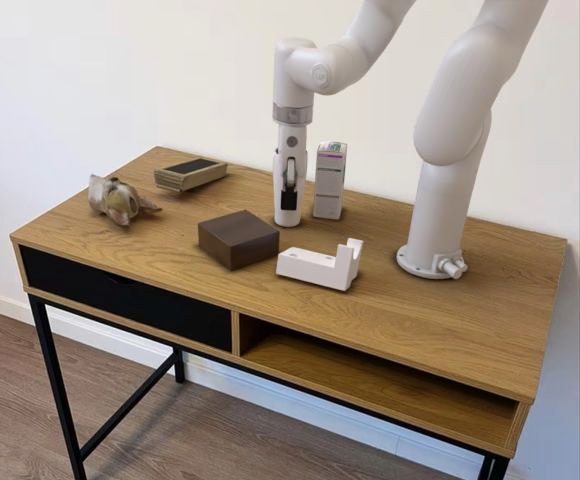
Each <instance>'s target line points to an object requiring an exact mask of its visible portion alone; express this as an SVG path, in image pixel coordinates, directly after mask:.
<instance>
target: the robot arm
mask: <svg viewBox="0 0 580 480" xmlns="http://www.w3.org/2000/svg"><path fill="white" fill-rule="evenodd" d="M549 1H550V0H484V1H483V3H482V5H481V8H480V9H479V12H478V14H477V16H476V18H475V20H474V22H473V23H472V25H471V26H470V28H468V30H466V31H465V32H463V33H462V34H460V35H459V36H458V37H457V38H456V39H455V40H454V41H453V42H452V43H451V44H450V46H449V47H448V48H447V50H446V52H445V54H444V55H443V57H442V58H441V59H442V60H441V61H440V64H439V66H438V68H437V70H436V73H435V74H434V76H433V80H432V82H431V84H430V87H429V89H428V92H427V94H426V95H425V98H424V101H423V103H422V104H421V108H420V110H419V113H418V115H417V117H416V120H415V122H414V127H413V133H412V135H413V136H412V139H413V146H414V148H415V151H416V153H417V155H418V156H419V158H420V159H422V162H421V167H420V173H419V178H418V182H417V188H416V193H415V199H414V204H413V210H412V211H413V212H412V216H411V220H410V226H409V231H408V232H409V233H408V238H407V243H406V244H404V245H402V246H401V247H399V249H398V250H397V253H396V262H397V264H398V266H400V267H401V268H402V269H403V270H404V271H406V272H407V273H409V274H412V275H415V276H417V277H419V278H420V277H421V278H424V279H429V280H431V279H432V280H445V279H450V278H452V279H454V280H458V279H459V278H461V276H462V274H463V273H465V272H467V270H468V268H469V267H468V265H467V264H466V263H465V259H464V258H463V256H462V254H463V250H462V249H461V248H460V246H461V241H462V237H463V233H464V229H465V226H466V225H465V224H466V221H467V216H468V212H469V209H470V204H471V200H472V196H473V191H474V189H475V188H474V187H475V184H476V180H477V176H478V173H479V172H478V171H479V168H480V164H481V161H482V158H483V154H484V151H485V148H486V146H487V145H486V144H487V141H488V138H489V134H490V131H491V126H492V119H493V118H492V113H493V112H492V107H493V105H494V103H495V101H496V99H497V97H498V95H499V93H500V91H502V88H503V87H504V85H505V84H506V83H508V81H510V79H511V78H512V76H513V75H514V74H515V73H516V71H517V69H518V67H519V65H520V62H521V59H522V58H523V55H524V53H525V51H526V49H527V46H528V45H529V43H530V40H531V38H532V36H533V34H534V32H535V30H536V28H537V26H538V24H539V22H540V20H541V18H542V16H543V13H544V11H545V9H546V7H547V5H548V3H549ZM416 2H417V0H363V1H362V4H361V7H360V9H359V11H358V12H357V15H356V16H355V18H354V20H353V21H352V23H351V24H350V25H349V27H348V28H347V30H346V31H345V33H344V34H343V36H342V37H341V38H340V39H339V40H337V41H335V42H333V43H331V44H328V45H326V46H322V47H318V48H317V44H316V43H315V42H314V41H312V40H311V39H308V38H305V37H303V38H302V37H295V36H292V37H284V38H280V39H279V40H278V41H276V43H275V46H274V54H273V55H274V56H273V58H274V60H273V86H272V87H273V90H272V117H271V118H272V119H271V120H272V121H273V122H274V123H275V124H278V127H277V128H278V133H277V147H278V155H279V170H280V176H281V177H283V190H281V210H292V211H295V210H296V209H297V194H298V191H297V174H298V176H299V177H301V178H303V177H304V176H305V159H306V150H307V137H308V136H307V132H308V131H307V130H308V128H307V127H308V125H311V124H312V123H313V116H314V102H315V94H318V95H321V96H326V97H327V96H333V95H336V94H338V93H340V92H342V91H344V90H345V89H347V88H348V87H350V86H352V85H354V84H356V83H357V82H359V81H361V80H362V79H363V78H364V77H365V76H366V75H367V74H368V72H369V71H370V70H371V68H372V67H374V65H375V63H376V62H377V61H378V60H379V58H380V57H381V56H382V54H383V53H384V52H385V51H386V49H387V47H388V46H389V44H390V43H391V41H392V40H393V38H394V37H395V34H396V33H397V31H398V30H399V28H400V26H401V25H402V23H403V21H404V18H405V17H406V15H407V14H408V13H409V11H410V10H411V8H412V7H413V6H414V5H415V3H416ZM294 160H295V164H294ZM287 161H288V164H287ZM287 166H288V175H285V170H286V171H287ZM295 170H296V174H295V176H294V171H295ZM286 179H287V182H286Z"/></svg>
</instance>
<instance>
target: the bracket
mask: <svg viewBox="0 0 580 480" xmlns="http://www.w3.org/2000/svg"><path fill="white" fill-rule="evenodd" d="M363 245H364V240H362V239H361V240H360V239H356V238H352V237H348V238H347V242H346V245H345V244H341V243H339V244H338V245H337V250H336V255H335V256H334V255H333V256H332V255H328V254H325V253H320V252H316V251H312V250H309V249H303V248H299V247H295V246H291V247H289V248H287V249H286V250H284V251H282V252H279V254H278V255H277V262H276V270H275V274H276V275H281V276H284V277H287V278H292V279H296V280H300V281H303V282H308V283H312V284H316V285H320V286H323V287H327V288H331V289H335V290H340V291H344V292H346V291H347V290H348V289H349V288H350V287H351V286H352V285H351V284H352V281H353V280H354V279H355V278H356V277H357V276H358V270H359V265H360V261H361V255H362V249H363Z"/></svg>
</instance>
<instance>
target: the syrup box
mask: <svg viewBox="0 0 580 480" xmlns="http://www.w3.org/2000/svg"><path fill="white" fill-rule="evenodd" d="M347 153H348V143H344V142H338V141H323V140H321V141H320V143H319V145H318V147H317V150H316V161H315V174H314V193H313V209H312V216H313V217H315V218H320V219H328V220H339V219H340V217H341V214H342V209H343V202H344V201H343V200H344V190H345V178H346V165H347V155H348V154H347Z"/></svg>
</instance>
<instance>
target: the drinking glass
mask: <svg viewBox="0 0 580 480" xmlns="http://www.w3.org/2000/svg"><path fill="white" fill-rule="evenodd" d="M308 156H309V152H308V150H307V149H306V159H305V176H304V177H303V178H301V177H299V176H298V174H297V191H298V194H297V209H296V210H295V211H292V210H281V190H283V177H281V176H280V170H279V155H278V146H277V147H276V148H274V149H273V155H272V183H273V184H272V185H273V186H272V187H273V205H274V206H273V207H274V222H275V223H276V224H277V225H278V226H280V227H284V228H285V227H286V228H292V227H296V226H297V225H299V224H300V222H301V215H302V214H301V213H302V206H303V201H304V193H305V187H306V181H307V175H308V163H309V162H308V160H309V159H308V158H309V157H308ZM287 164H288V161H287ZM294 164H295V160H294ZM295 174H296V170H295V171H294V176H295ZM285 175H288V166H287V171H286V170H285ZM286 182H287V179H286Z"/></svg>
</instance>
